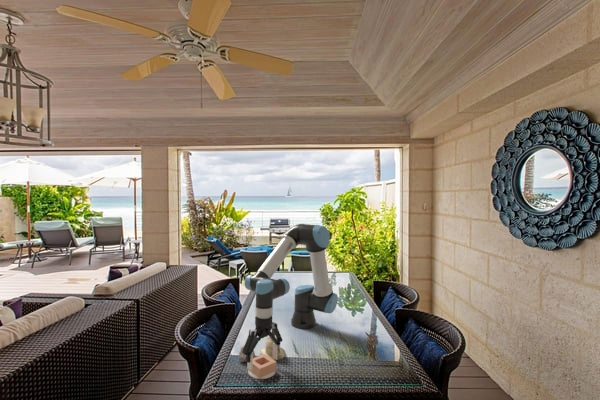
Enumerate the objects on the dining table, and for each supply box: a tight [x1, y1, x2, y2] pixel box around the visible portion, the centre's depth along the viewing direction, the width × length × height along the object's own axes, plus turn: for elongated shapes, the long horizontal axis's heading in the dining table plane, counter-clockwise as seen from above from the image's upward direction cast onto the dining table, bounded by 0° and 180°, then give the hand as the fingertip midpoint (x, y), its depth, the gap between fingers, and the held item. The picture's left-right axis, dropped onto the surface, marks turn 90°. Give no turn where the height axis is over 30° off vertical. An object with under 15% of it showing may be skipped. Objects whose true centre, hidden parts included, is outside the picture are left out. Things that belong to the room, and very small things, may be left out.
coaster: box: [247, 369, 277, 380], centre depth 140 cm, size 12×12×1 cm
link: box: [247, 354, 278, 378], centre depth 140 cm, size 9×9×4 cm
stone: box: [238, 344, 257, 363], centre depth 151 cm, size 8×10×6 cm
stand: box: [259, 328, 286, 362], centre depth 156 cm, size 12×12×13 cm
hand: (262, 363), depth 140 cm, fingers open, 13 cm apart
